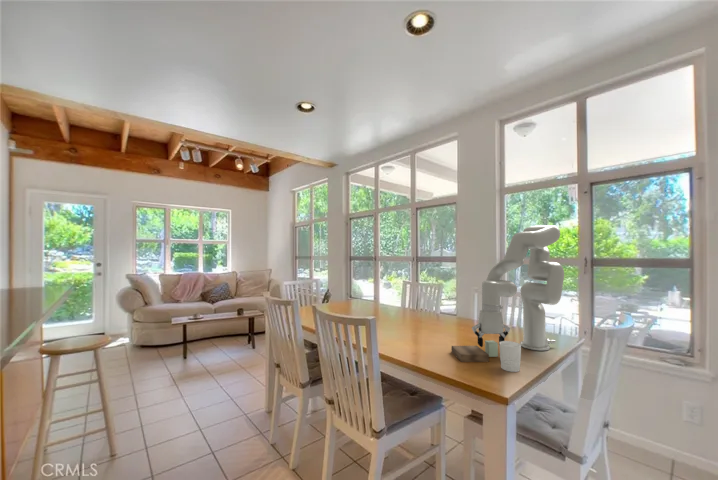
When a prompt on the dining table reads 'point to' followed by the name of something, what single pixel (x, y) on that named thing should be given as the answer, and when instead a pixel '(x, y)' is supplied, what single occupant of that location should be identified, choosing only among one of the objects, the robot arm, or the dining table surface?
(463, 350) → the walnut base
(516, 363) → the white cup
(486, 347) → the sage block
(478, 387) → the dining table surface
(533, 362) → the dining table surface
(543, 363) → the dining table surface
